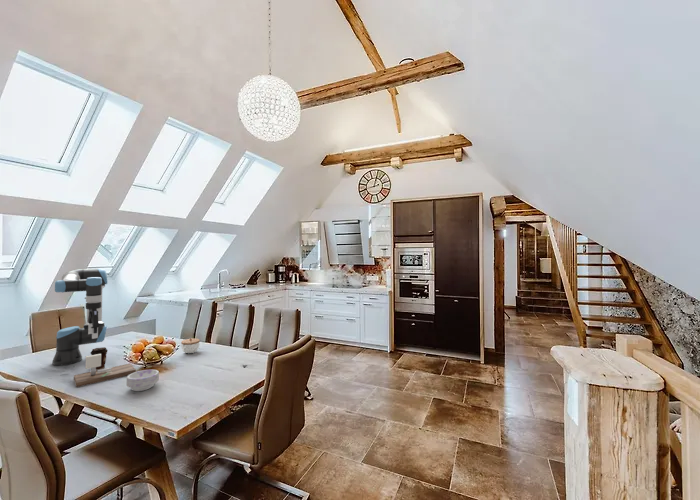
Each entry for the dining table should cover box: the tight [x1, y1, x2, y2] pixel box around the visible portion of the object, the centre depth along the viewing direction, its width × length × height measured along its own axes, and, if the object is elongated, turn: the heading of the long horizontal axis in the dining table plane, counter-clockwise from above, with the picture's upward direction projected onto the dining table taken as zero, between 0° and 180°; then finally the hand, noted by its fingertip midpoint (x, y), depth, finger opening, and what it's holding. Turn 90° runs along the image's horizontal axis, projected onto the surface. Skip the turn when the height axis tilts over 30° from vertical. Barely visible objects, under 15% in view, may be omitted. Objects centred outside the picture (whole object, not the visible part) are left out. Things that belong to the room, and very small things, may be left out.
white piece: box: [85, 354, 113, 375], centre depth 186 cm, size 2×12×12 cm, turn 137°
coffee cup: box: [90, 347, 108, 370], centre depth 200 cm, size 9×8×13 cm
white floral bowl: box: [126, 369, 160, 392], centre depth 174 cm, size 15×15×8 cm
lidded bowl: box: [181, 337, 201, 354], centre depth 234 cm, size 13×13×11 cm
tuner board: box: [73, 363, 137, 388], centre depth 188 cm, size 15×28×3 cm, turn 137°
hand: (92, 336), depth 190 cm, fingers open, 13 cm apart
